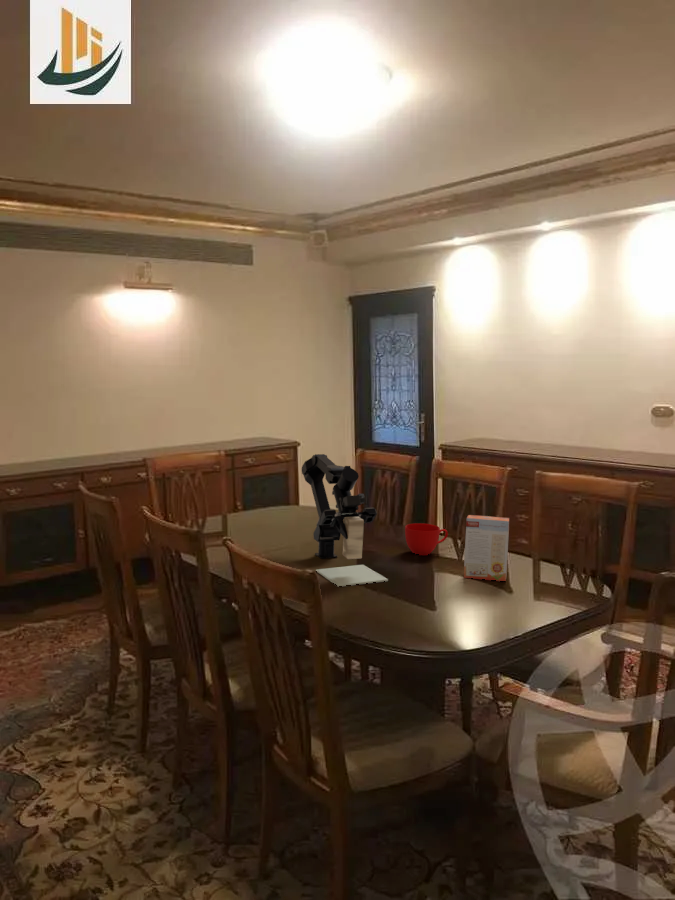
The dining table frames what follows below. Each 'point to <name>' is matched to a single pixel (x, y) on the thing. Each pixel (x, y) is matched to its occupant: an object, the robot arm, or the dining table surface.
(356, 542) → the birch block
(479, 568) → the cracker box
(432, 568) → the dining table surface
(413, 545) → the ceramic cup
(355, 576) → the sage mat
